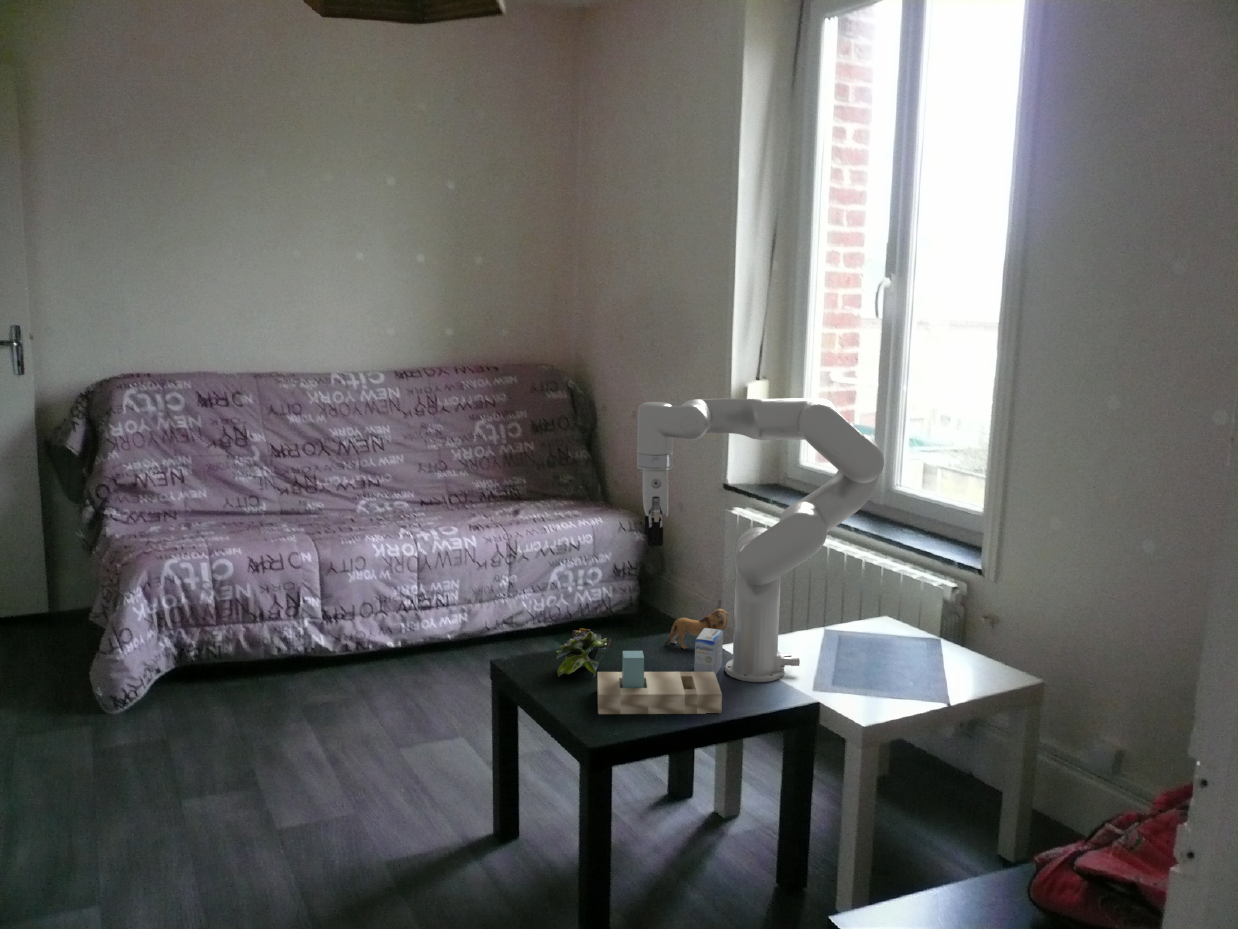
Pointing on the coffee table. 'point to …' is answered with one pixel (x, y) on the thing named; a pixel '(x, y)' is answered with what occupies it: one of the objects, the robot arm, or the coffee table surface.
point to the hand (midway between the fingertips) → (653, 539)
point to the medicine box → (708, 651)
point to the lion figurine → (698, 626)
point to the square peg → (632, 669)
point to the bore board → (660, 694)
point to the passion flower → (582, 652)
